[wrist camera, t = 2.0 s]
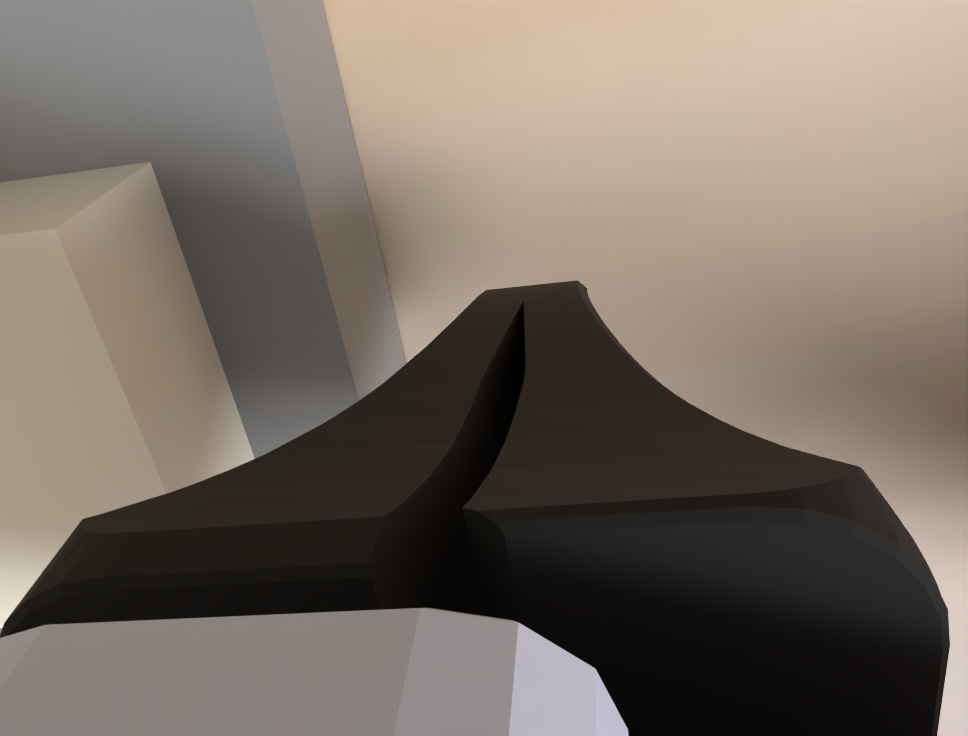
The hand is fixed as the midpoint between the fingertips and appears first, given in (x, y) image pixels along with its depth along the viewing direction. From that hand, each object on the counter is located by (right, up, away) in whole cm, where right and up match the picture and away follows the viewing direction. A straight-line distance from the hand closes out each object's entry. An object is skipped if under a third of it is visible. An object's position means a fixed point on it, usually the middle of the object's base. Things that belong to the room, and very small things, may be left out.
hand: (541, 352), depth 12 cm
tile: (-8, 0, +2) cm, 8 cm away
